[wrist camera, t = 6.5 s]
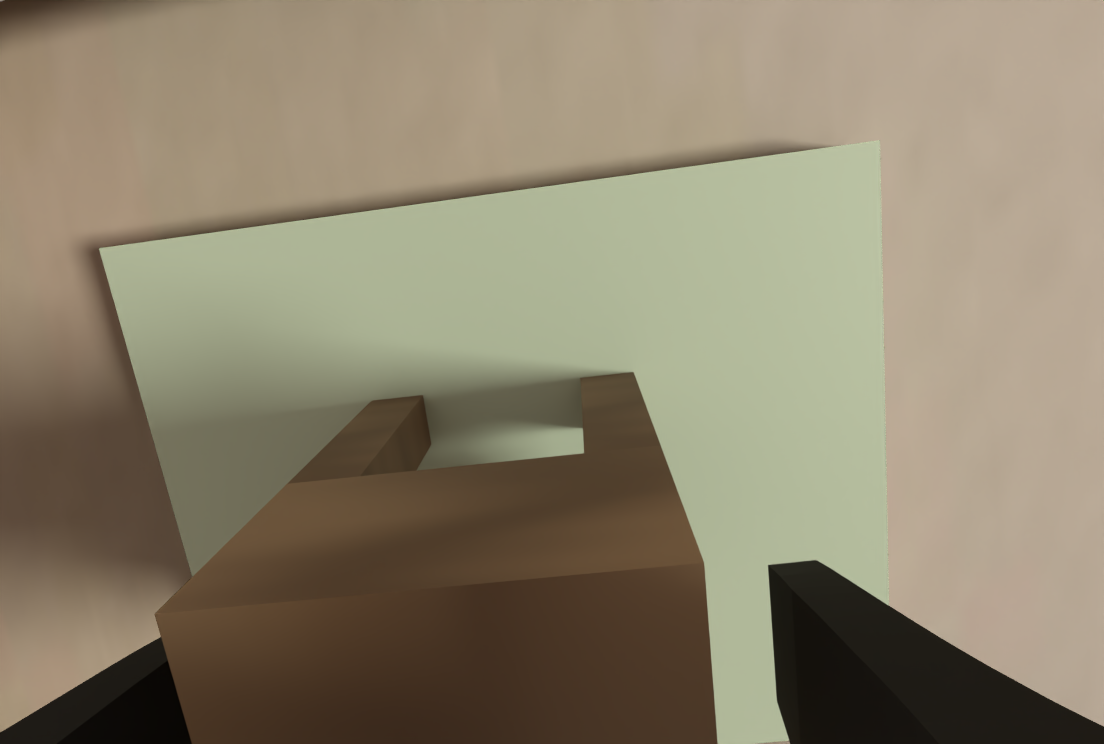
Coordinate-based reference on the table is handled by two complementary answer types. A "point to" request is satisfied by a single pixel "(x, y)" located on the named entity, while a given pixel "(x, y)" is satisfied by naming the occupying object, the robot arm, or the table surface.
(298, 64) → the table surface
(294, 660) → the walnut stool
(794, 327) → the sage green board
